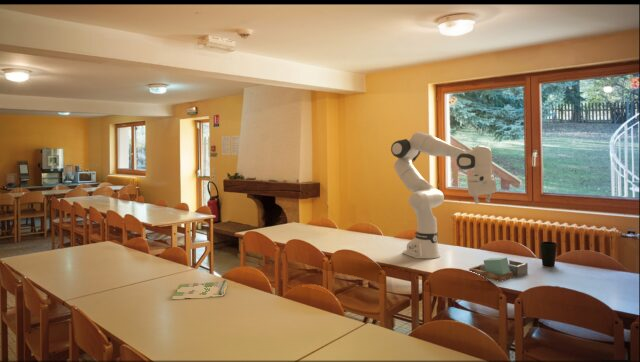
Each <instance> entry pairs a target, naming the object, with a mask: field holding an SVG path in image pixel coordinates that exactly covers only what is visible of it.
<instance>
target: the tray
mask: <svg viewBox="0 0 640 362" xmlns="http://www.w3.org/2000/svg"><path fill="white" fill-rule="evenodd" d="M468 270H469V271H472V272H475V273H477V274H480V275H482V276H484V277H483V278H486V277H487V279H490V278H491V280H493V279H494V281H497V280H498V281H497V282H502V280H503V281H505V279H506V280H508V279H511V278H513V276H514V272H513V271H510V272H509V273H506V274H503V275H497V274H493V273H489V272H486V271H480V266H479V265H475V266H472V267H470V268H468ZM482 276H481V277H482ZM510 277H511V278H510ZM514 277H515V276H514Z"/></svg>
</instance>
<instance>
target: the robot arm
mask: <svg viewBox="0 0 640 362" xmlns="http://www.w3.org/2000/svg"><path fill="white" fill-rule="evenodd" d="M390 151H391V154H392V155H393V156H394V157H395V158H397V160H395V162H394V165H393V166H394V167H393V168H394V170H395V172H396V175H397V176H398V177H399V179H400V181H402V183H403V184H404V185H405V188H406V189H407V190H409V191H410V192H412V193H411V194H410V196H409V197H408V204H409V206H410V207H411V209H413V211H414V213H415V216H416V221H417V222H416V225H417V227H416V228H417V231H416V232H414V233H413V235H415V236H414V238H412V239H411V240H410V241H408V242H407V244H406V249H405V250H403V251H402V254H404V255H406V256H409V257H411V258H415V259H436V258H440V257H441V254H440V250H439V244H438V237H439V235H438V234H439V233H438V227H437V226H438V220H437V217H436V216H434V213H433V210H432V209H433V208H437V207H439V206H441V205H442V204H443V203H444V201H445V195H444V193H443V192H442V191H441V190H440V189H438V188H436V187H434V186H433V185H432V183H429V181H427V180H426V179H425V178H424V177H423V176H422V175H421V173H420V172H419V171H418V169H417V167H415V166H414V164H413V163H414V162H415V161H416V160H417V158H418V157H419V156H420V154H421V153H422V154H425V155H428V156H432V157H450V158H453V159H455V160H456V166H457V167H458V169H460V170H463V171H471V170H472V171H473V173H472V174H471V175H469V176H467V180H468V182H467V193H468V195H469V196H472V197H473V199H474V204H477V205H478V204H480V199H479V196H480V195H481V196H482V195H486V198H485V202H486V203H490V202H491V197H492V196H493V195H492V194H495V193H496V192H497V182H496V180H495V177H494V175H493V171H492V164H493V153H492V149H491V148H490V147H489V146H485V145H476V146H475V147H474V148H472V149H470V150H466V149H463V148H461V147H457V146H455V145H452V144H450V143H448V142H446V141H445V140H442V139H440V138H438V137H436V136H435V135H432V134H429V133H426V132H422V131H417V132H415V133H413V134H412V135H411V137H410V139H407V138H405V139H400V140H396V141H394V142H392V144H391V147H390Z"/></svg>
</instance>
